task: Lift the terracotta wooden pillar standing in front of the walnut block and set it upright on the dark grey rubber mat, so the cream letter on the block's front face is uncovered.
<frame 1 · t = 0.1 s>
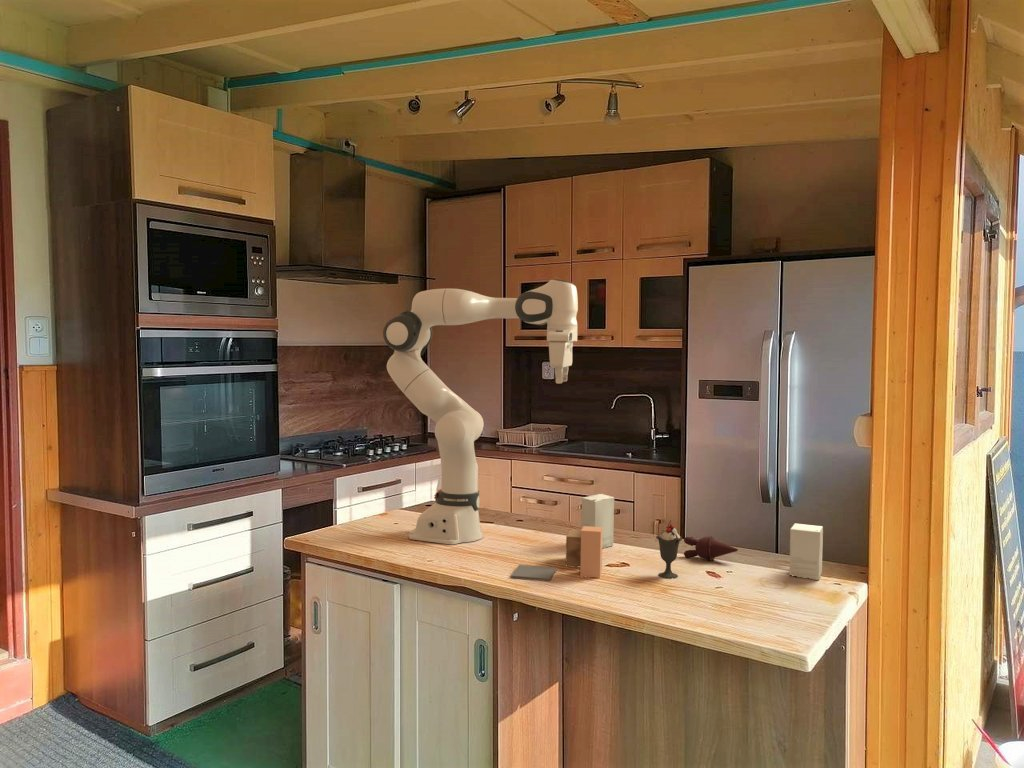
hand: (561, 382, 231), 48 cm above the counter, tool pointing down, fingers open, 8 cm apart
supplement box: (805, 575, 206), on the counter
terracotta pillar: (591, 574, 204), on the counter
icecream: (709, 560, 219), on the counter
sundae: (668, 576, 204), on the counter
skincare box: (597, 547, 231), on the counter
grey mat: (533, 573, 204), on the counter
lettered block: (582, 562, 214), on the counter
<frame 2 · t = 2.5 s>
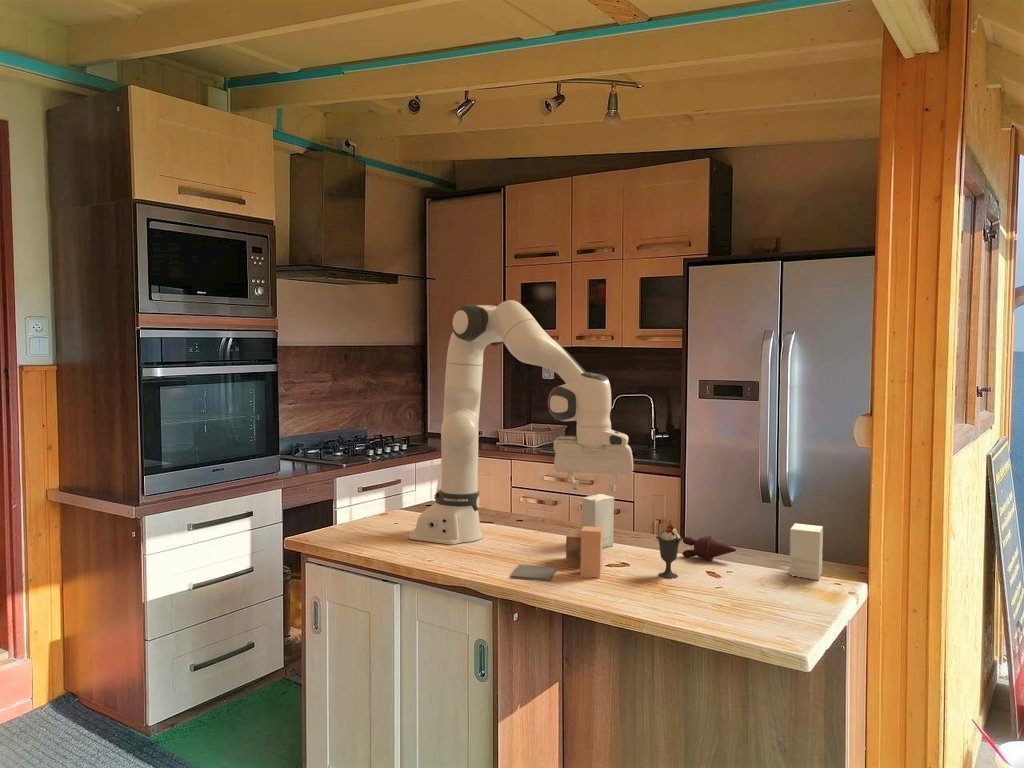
hand: (593, 489, 203), 22 cm above the counter, tool pointing down, fingers open, 8 cm apart
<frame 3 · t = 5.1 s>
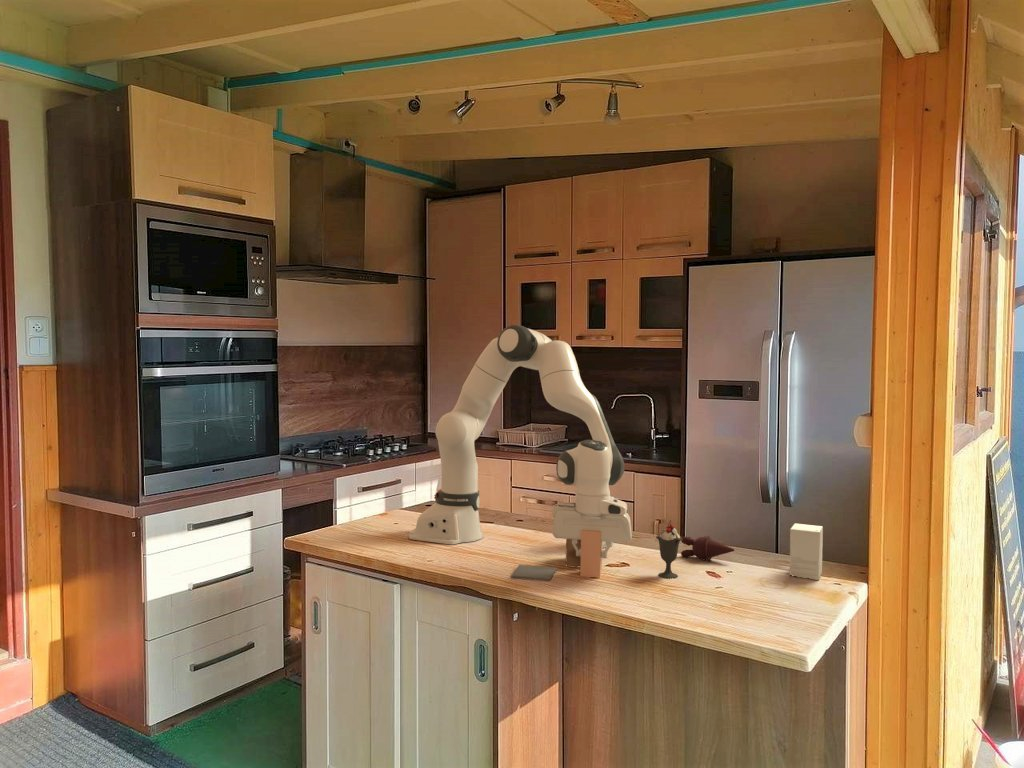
hand: (591, 557, 204), 5 cm above the counter, tool pointing down, fingers closed on terracotta pillar, 5 cm apart
terracotta pillar: (591, 574, 204), on the counter, touching gripper
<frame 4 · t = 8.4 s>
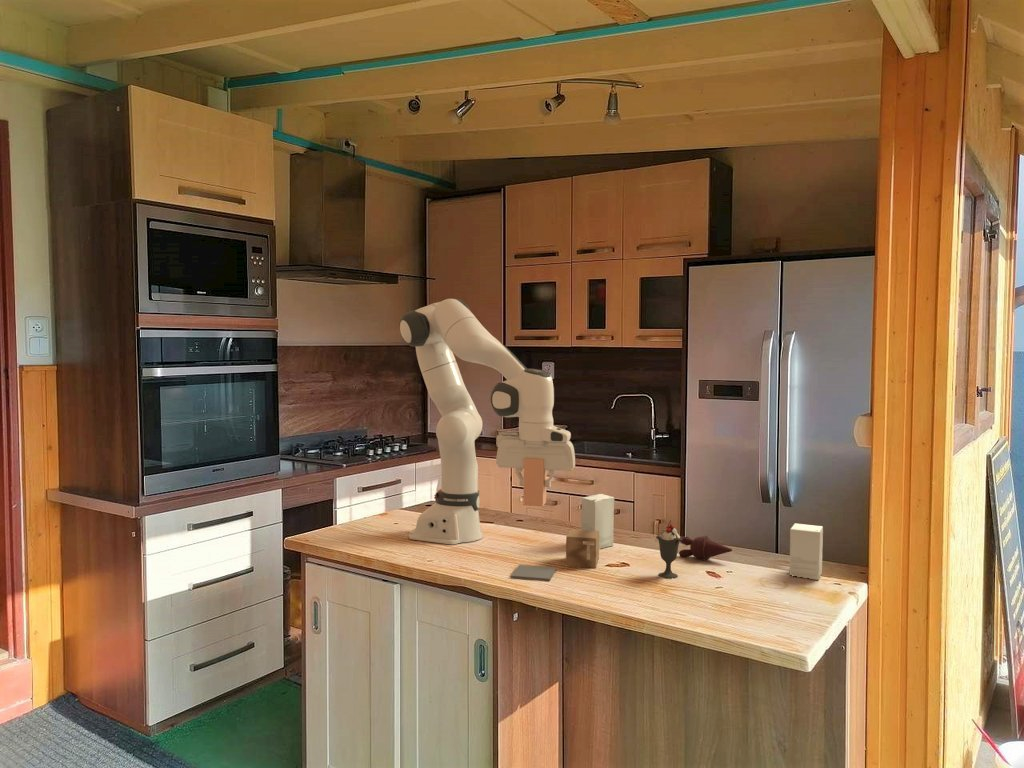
hand: (535, 486, 203), 23 cm above the counter, tool pointing down, fingers closed on terracotta pillar, 5 cm apart
terracotta pillar: (534, 503, 203), point 18 cm above the counter, touching gripper
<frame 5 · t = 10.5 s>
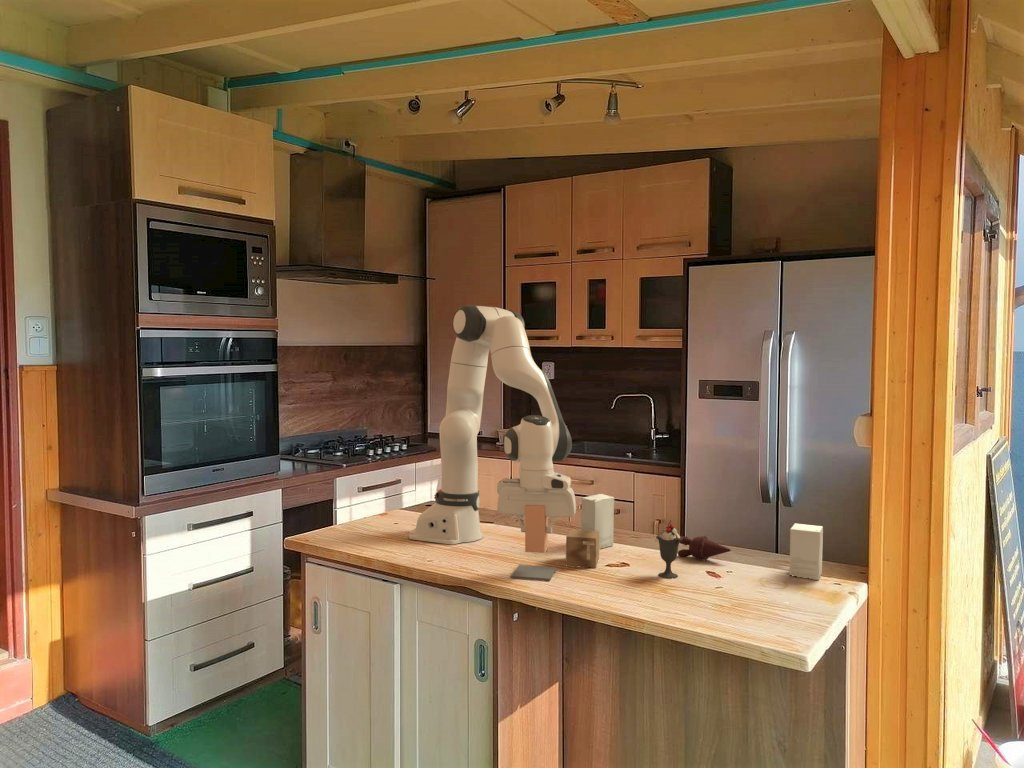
hand: (536, 532, 203), 11 cm above the counter, tool pointing down, fingers closed on terracotta pillar, 5 cm apart
terracotta pillar: (536, 549, 204), point 6 cm above the counter, touching gripper
when the fingers open (7 cm above the counter, at t = 12.2 s): terracotta pillar drops 1 cm, resting on grey mat.
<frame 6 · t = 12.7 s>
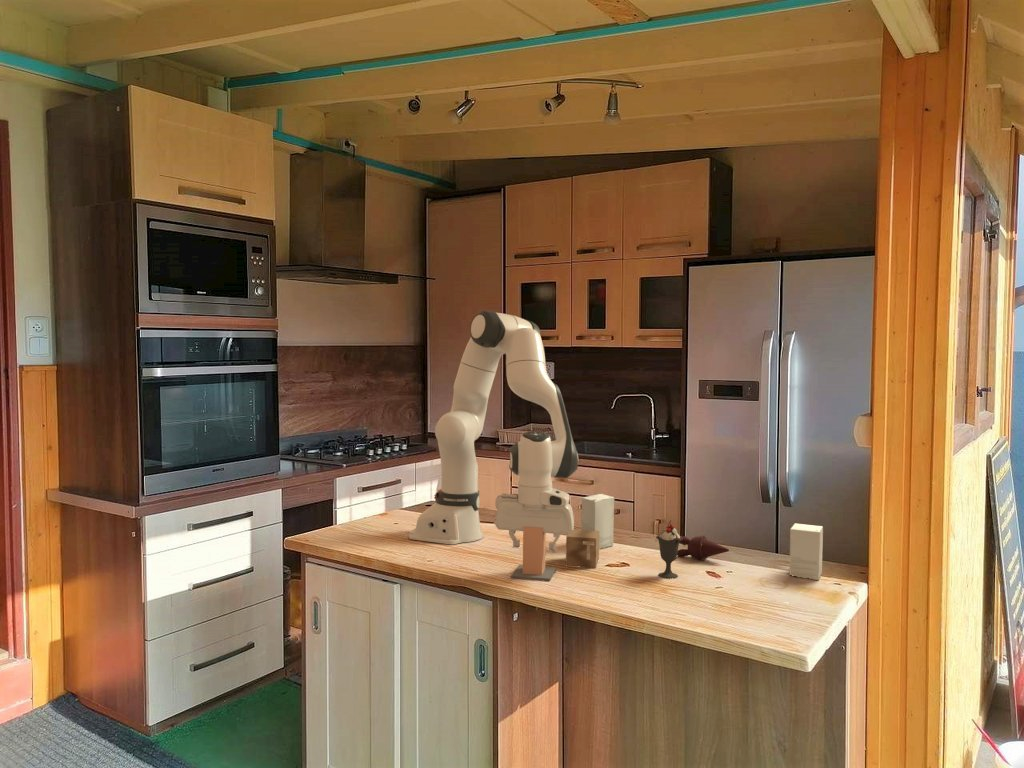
hand: (534, 548, 204), 7 cm above the counter, tool pointing down, fingers open, 8 cm apart
terracotta pillar: (533, 571, 204), point 1 cm above the counter, touching grey mat
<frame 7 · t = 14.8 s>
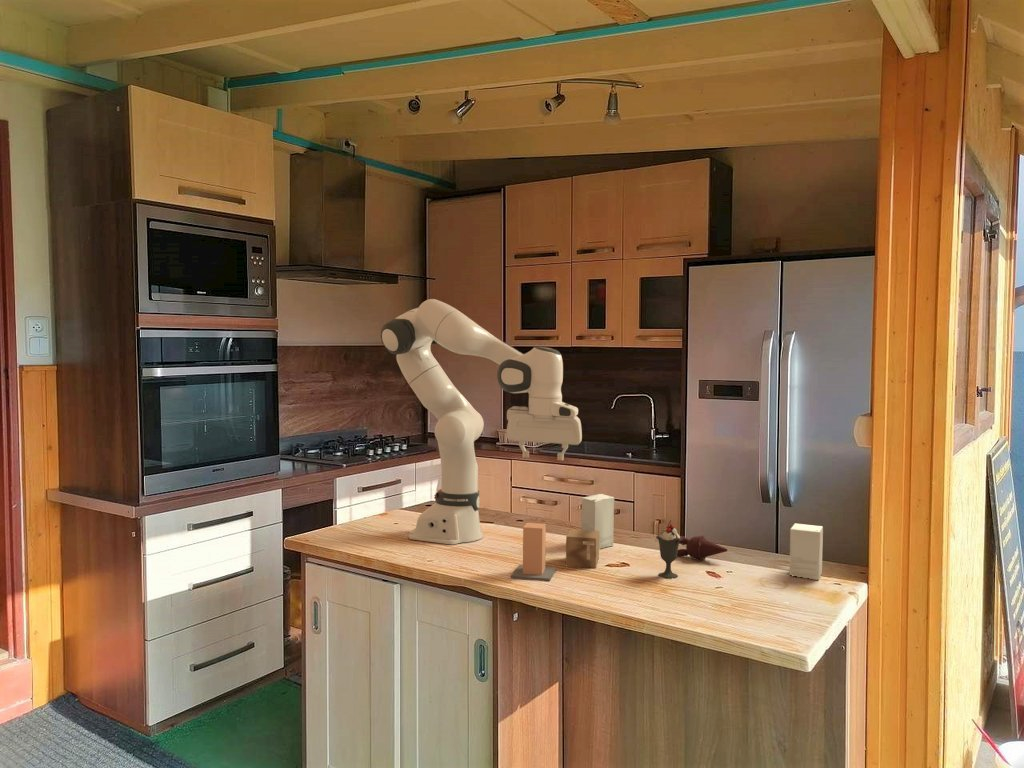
hand: (542, 459, 212), 28 cm above the counter, tool pointing down, fingers open, 8 cm apart
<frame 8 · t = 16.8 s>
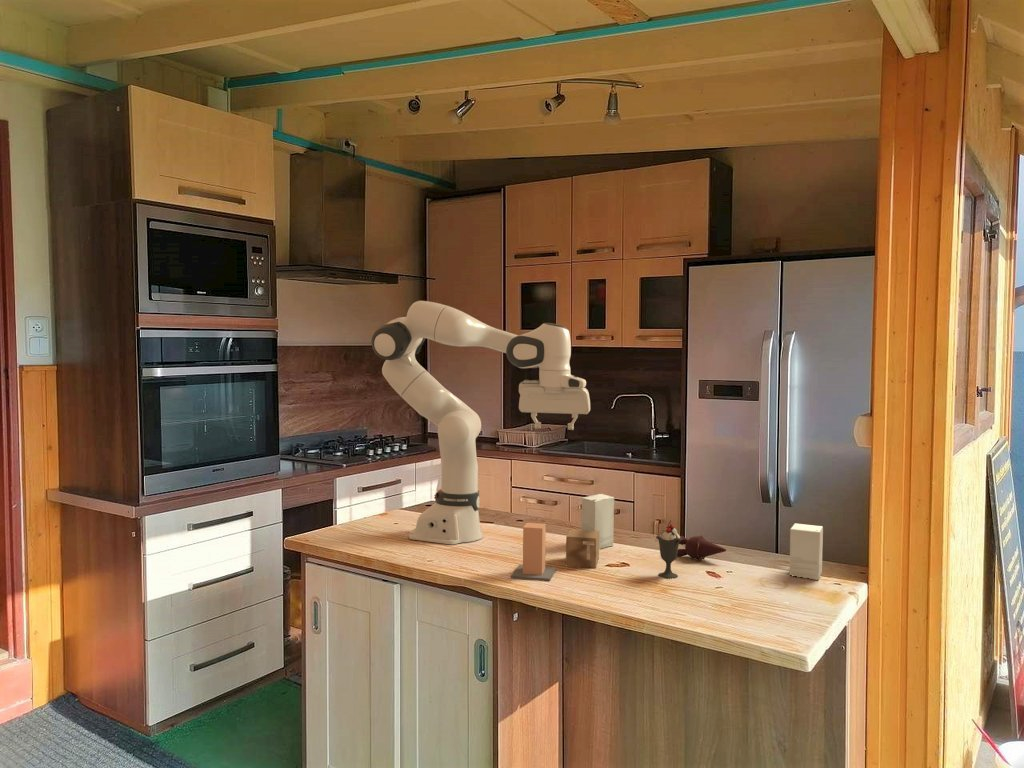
hand: (554, 429, 224), 35 cm above the counter, tool pointing down, fingers open, 8 cm apart
at the end: terracotta pillar inside the target area on the grey mat (0.1 cm from its centre), point 0.6 cm above the grey mat's base; terracotta pillar tilted 0°; the gripper is holding nothing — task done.
